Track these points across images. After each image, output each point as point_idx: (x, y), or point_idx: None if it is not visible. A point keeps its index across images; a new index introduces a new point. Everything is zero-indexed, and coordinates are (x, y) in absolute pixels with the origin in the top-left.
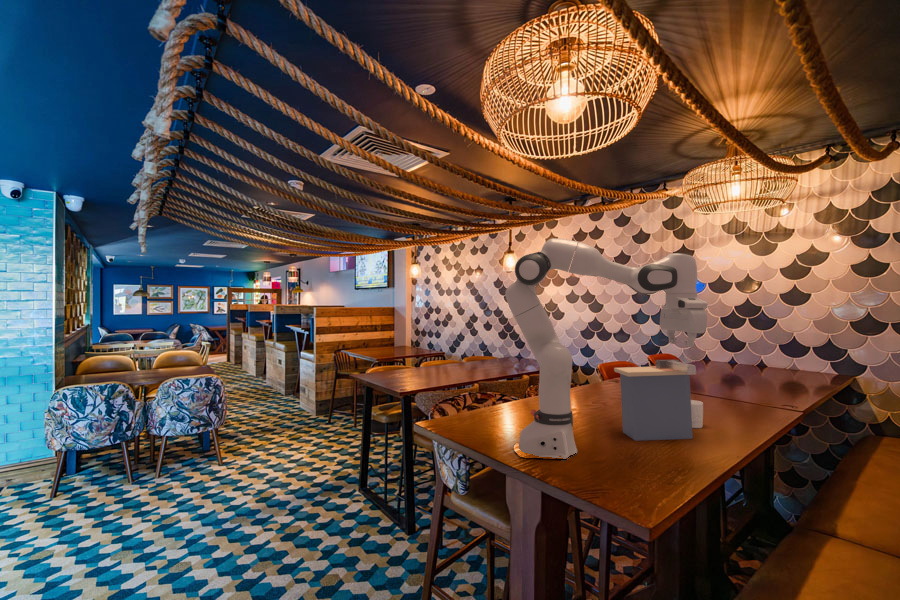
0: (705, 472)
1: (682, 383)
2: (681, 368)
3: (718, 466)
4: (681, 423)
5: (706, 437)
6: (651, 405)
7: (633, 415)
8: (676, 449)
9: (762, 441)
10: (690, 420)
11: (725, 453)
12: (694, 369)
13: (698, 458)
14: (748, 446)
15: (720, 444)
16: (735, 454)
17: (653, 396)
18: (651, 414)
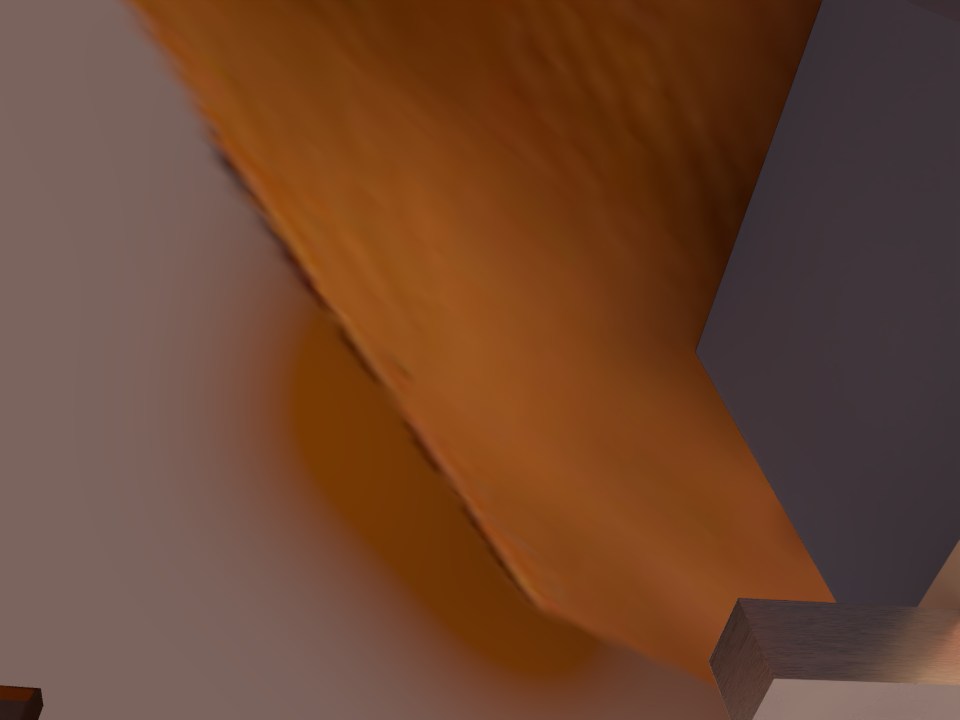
0: (220, 24)
1: (875, 572)
2: (858, 640)
3: (294, 172)
4: (750, 348)
5: (681, 430)
6: (907, 209)
7: (943, 14)
8: (589, 136)
9: (538, 601)
10: (736, 412)
11: (453, 348)
12: (728, 692)
13: (425, 154)
14: (503, 509)
15: (570, 418)
16: (428, 382)
17: (941, 268)
18: (869, 175)
